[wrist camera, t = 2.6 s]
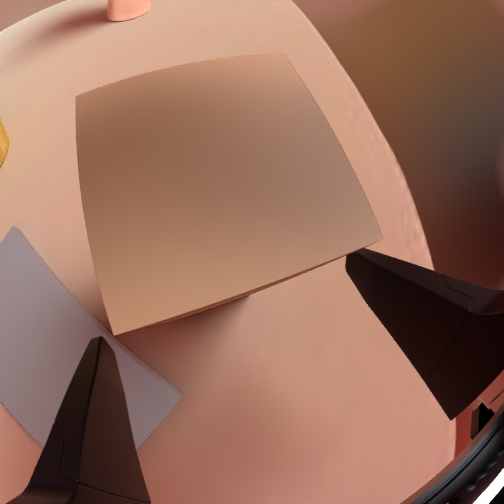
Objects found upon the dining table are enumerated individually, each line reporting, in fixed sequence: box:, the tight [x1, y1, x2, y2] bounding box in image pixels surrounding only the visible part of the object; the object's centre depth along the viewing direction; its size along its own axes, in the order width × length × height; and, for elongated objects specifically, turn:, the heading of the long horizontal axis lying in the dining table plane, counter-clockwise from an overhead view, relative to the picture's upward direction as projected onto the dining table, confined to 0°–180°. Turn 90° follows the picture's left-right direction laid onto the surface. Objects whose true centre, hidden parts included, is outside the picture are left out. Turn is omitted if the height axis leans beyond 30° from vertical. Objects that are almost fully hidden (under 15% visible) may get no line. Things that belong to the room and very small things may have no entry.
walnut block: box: [76, 54, 384, 336], centre depth 12 cm, size 5×5×15 cm
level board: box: [0, 226, 183, 450], centre depth 15 cm, size 18×12×1 cm, turn 52°
